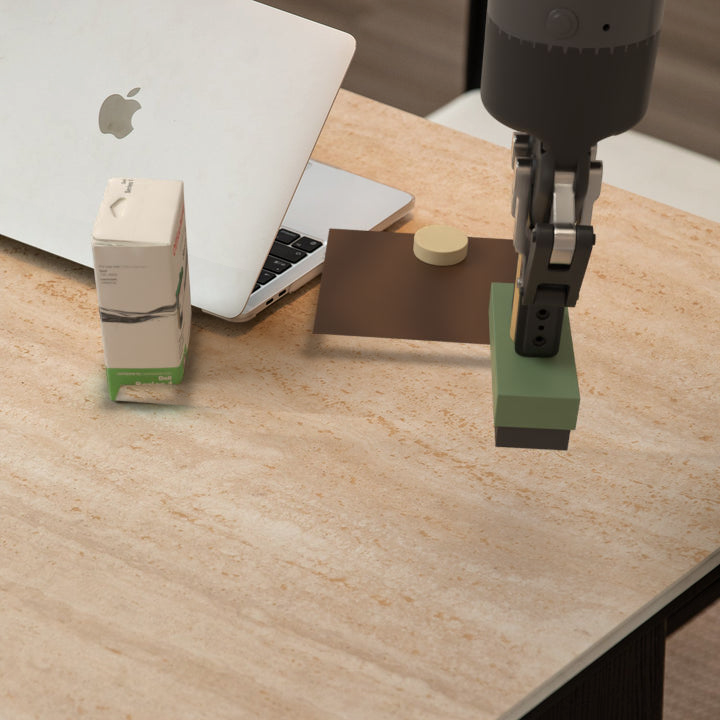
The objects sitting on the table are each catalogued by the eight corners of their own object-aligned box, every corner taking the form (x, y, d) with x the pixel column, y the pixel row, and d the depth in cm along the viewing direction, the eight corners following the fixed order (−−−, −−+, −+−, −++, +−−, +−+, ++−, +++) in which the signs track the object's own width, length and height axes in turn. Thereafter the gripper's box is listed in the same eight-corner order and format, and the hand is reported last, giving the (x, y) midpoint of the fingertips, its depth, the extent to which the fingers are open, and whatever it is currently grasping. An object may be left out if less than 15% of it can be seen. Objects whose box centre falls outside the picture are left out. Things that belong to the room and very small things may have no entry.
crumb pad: (466, 239, 94) (468, 225, 93) (467, 267, 91) (468, 253, 90) (413, 236, 94) (415, 222, 94) (412, 264, 91) (413, 250, 90)
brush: (486, 334, 70) (499, 201, 65) (557, 337, 70) (576, 204, 65) (491, 449, 62) (506, 308, 57) (571, 453, 62) (594, 312, 57)
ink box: (183, 403, 79) (173, 244, 72) (105, 402, 79) (87, 243, 72) (194, 326, 86) (186, 174, 79) (122, 325, 86) (108, 173, 79)
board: (549, 258, 95) (552, 241, 94) (562, 366, 84) (565, 348, 83) (328, 244, 96) (329, 227, 95) (312, 351, 84) (312, 332, 84)
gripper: (687, 77, 48) (622, 425, 58) (642, -43, 59) (594, 267, 69) (492, 69, 48) (461, 417, 58) (483, -49, 59) (459, 260, 69)
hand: (533, 334), depth 64 cm, fingers closed on brush, 2 cm apart
